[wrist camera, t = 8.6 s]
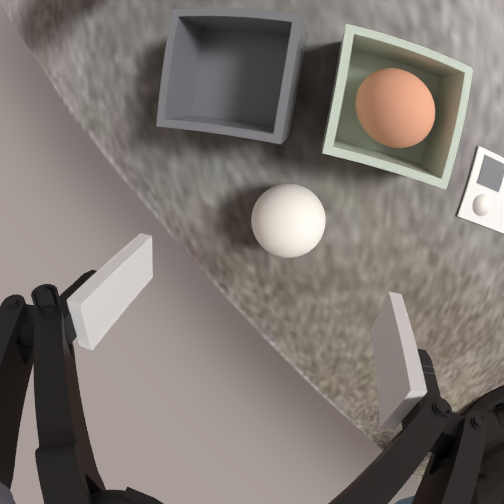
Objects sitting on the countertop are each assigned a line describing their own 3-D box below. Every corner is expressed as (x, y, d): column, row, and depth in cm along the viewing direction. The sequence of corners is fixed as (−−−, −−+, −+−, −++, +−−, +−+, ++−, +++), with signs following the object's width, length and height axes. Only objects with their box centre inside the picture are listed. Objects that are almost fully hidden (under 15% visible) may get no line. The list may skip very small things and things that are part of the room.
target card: (519, 239, 23) (520, 240, 23) (457, 215, 24) (458, 216, 24) (540, 178, 20) (541, 178, 20) (478, 145, 21) (479, 146, 21)
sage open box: (422, 171, 24) (446, 189, 18) (322, 142, 25) (322, 153, 20) (443, 73, 19) (472, 68, 14) (340, 41, 20) (346, 23, 15)
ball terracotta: (411, 151, 23) (436, 165, 17) (344, 132, 23) (353, 139, 18) (425, 85, 20) (454, 82, 15) (357, 63, 21) (369, 51, 15)
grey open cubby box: (289, 135, 25) (280, 144, 20) (188, 120, 26) (156, 126, 21) (307, 34, 21) (302, 15, 16) (201, 25, 22) (172, 9, 17)
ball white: (316, 245, 29) (314, 279, 24) (254, 231, 30) (238, 261, 25) (332, 184, 26) (334, 206, 21) (264, 169, 27) (249, 187, 22)
